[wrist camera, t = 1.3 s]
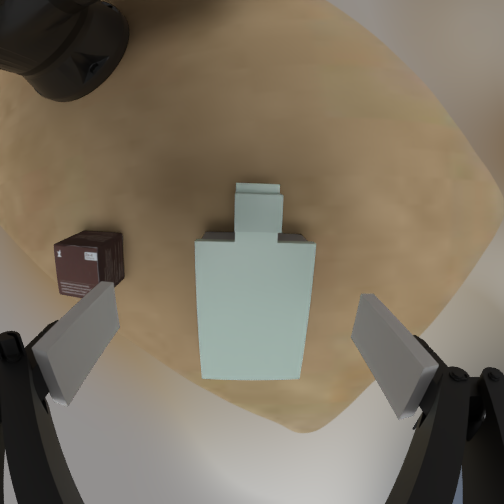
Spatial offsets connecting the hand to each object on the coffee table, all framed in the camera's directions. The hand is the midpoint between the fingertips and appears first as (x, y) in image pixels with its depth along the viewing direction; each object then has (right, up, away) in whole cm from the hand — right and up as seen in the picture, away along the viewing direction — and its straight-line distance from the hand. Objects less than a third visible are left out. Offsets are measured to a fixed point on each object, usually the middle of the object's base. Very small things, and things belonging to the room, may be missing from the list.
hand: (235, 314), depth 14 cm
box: (-18, +3, +19) cm, 26 cm away
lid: (+1, -1, +15) cm, 15 cm away
